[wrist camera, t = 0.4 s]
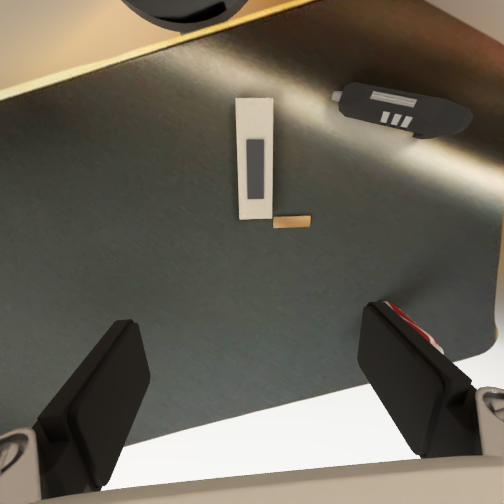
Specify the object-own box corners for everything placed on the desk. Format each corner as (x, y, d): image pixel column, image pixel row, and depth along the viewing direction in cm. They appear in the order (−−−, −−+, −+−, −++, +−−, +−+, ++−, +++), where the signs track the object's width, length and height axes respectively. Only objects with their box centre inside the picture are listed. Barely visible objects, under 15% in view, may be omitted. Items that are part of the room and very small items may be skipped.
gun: (340, 105, 39) (336, 73, 30) (451, 130, 34) (486, 101, 25) (333, 124, 40) (327, 98, 31) (440, 151, 35) (470, 129, 26)
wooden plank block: (273, 216, 39) (273, 217, 38) (310, 215, 39) (310, 216, 39) (273, 227, 39) (273, 228, 39) (309, 226, 40) (309, 226, 39)
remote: (235, 102, 33) (235, 97, 31) (271, 102, 33) (273, 96, 31) (239, 216, 38) (239, 219, 36) (270, 216, 39) (272, 218, 36)
